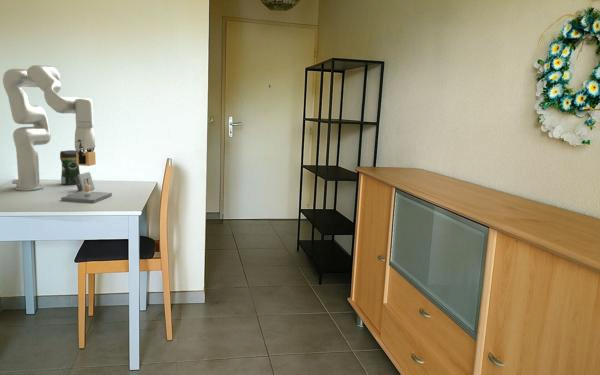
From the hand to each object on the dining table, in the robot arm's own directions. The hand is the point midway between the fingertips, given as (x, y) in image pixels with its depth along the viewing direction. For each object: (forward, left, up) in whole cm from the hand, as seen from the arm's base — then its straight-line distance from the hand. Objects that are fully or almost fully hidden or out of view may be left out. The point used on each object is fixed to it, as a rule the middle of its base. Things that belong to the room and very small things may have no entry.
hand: (86, 162), depth 223 cm
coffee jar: (-27, +31, -18) cm, 44 cm away
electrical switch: (-11, +17, -18) cm, 27 cm away
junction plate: (0, 0, -17) cm, 17 cm away
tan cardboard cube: (0, 0, -1) cm, 1 cm away
